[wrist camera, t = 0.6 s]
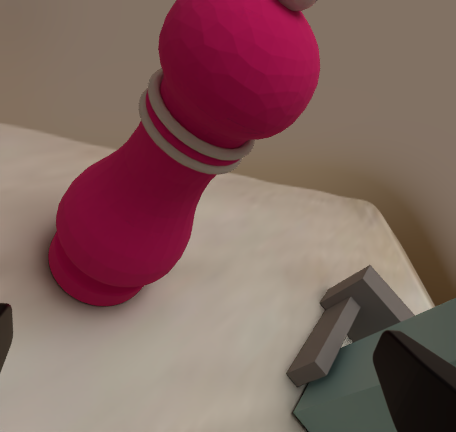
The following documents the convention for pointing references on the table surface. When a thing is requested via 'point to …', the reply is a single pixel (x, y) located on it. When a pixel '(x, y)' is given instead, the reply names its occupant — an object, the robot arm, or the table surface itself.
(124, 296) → the pepper mill
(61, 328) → the table surface
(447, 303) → the teal tall block
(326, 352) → the gray support stand
